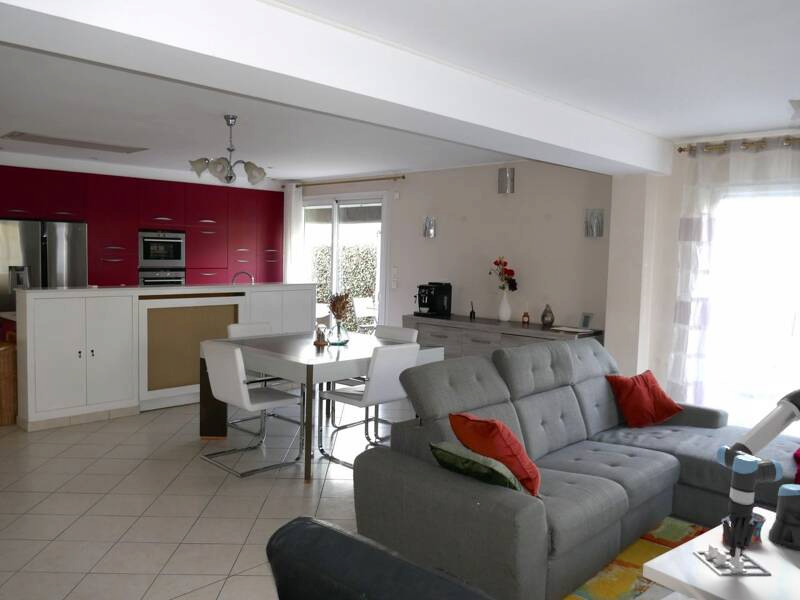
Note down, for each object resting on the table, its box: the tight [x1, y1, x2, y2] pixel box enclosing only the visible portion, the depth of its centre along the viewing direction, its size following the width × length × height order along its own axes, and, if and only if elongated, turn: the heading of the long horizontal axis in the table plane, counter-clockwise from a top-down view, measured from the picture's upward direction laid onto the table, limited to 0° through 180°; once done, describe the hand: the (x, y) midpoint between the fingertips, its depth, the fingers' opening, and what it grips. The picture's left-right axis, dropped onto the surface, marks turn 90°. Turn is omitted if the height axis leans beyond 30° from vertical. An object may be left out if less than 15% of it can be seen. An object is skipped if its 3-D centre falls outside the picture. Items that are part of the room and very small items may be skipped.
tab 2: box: [712, 550, 730, 565], centre depth 230 cm, size 4×3×4 cm
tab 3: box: [729, 559, 748, 573], centre depth 225 cm, size 4×3×4 cm
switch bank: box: [692, 550, 772, 577], centre depth 230 cm, size 20×16×2 cm
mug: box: [750, 511, 767, 544], centre depth 254 cm, size 12×9×11 cm
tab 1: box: [704, 543, 719, 558], centre depth 235 cm, size 4×3×4 cm
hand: (734, 564), depth 225 cm, fingers closed
